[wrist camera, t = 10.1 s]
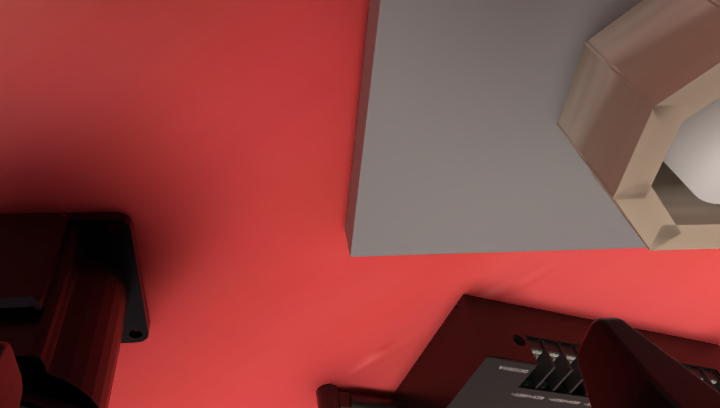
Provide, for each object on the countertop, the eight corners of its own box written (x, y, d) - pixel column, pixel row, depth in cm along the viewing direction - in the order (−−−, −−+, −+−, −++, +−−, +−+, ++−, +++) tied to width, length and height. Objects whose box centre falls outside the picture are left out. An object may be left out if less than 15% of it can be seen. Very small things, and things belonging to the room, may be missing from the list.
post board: (789, 220, 27) (890, 313, 23) (345, 230, 24) (367, 341, 20) (1026, -132, 19) (1253, -88, 15) (390, -196, 15) (447, -162, 11)
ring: (715, 175, 23) (789, 247, 20) (538, 175, 22) (588, 252, 19) (821, -15, 19) (935, 39, 16) (608, -29, 17) (687, 27, 14)
